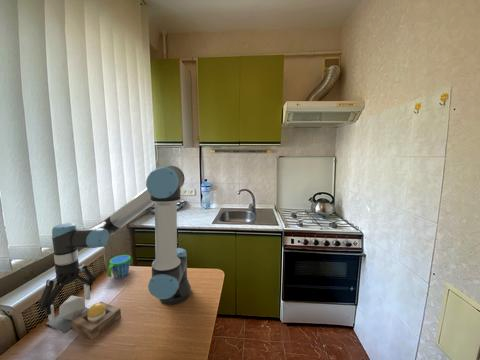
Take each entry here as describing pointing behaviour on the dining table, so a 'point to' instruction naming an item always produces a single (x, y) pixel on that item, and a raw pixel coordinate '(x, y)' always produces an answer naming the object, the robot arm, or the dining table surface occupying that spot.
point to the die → (71, 307)
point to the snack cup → (119, 266)
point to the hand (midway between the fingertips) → (71, 308)
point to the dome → (96, 312)
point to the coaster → (63, 323)
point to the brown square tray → (94, 329)
